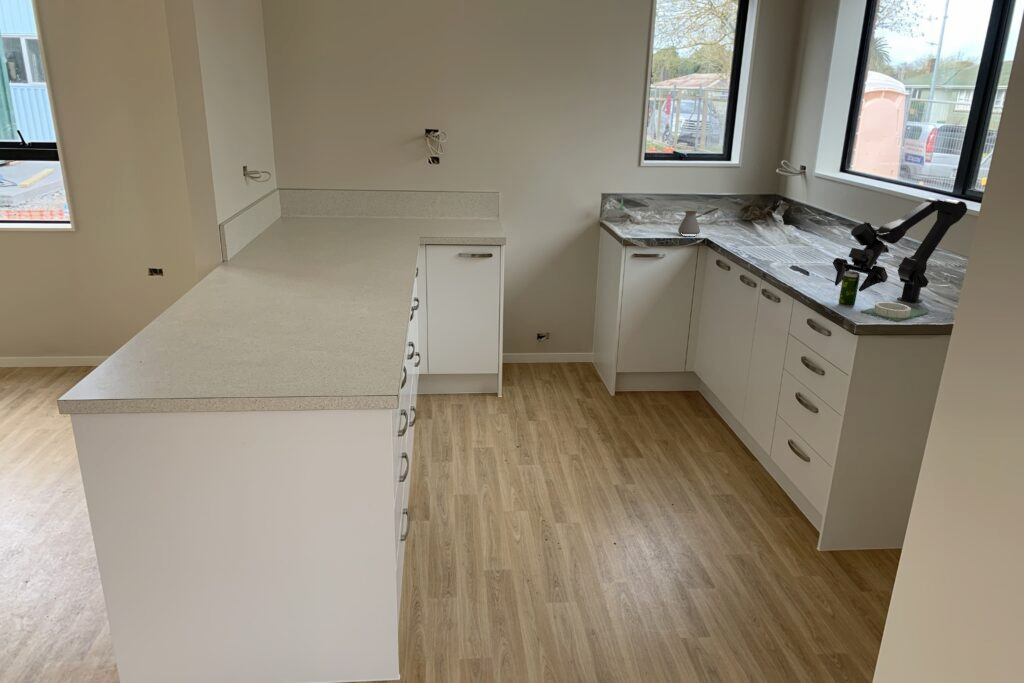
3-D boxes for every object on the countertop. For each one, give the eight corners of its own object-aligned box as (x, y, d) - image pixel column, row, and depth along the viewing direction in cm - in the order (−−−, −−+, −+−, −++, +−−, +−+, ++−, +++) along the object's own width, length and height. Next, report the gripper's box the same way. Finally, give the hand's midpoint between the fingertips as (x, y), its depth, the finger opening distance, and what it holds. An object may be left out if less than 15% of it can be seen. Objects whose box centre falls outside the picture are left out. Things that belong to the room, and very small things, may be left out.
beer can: (849, 303, 264) (855, 271, 260) (857, 307, 259) (863, 274, 255) (835, 303, 263) (840, 270, 260) (843, 307, 258) (849, 274, 254)
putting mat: (892, 304, 264) (892, 303, 263) (928, 313, 253) (928, 312, 253) (860, 312, 253) (861, 310, 253) (897, 321, 243) (897, 320, 242)
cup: (884, 307, 258) (886, 300, 257) (915, 314, 250) (917, 307, 249) (867, 311, 252) (868, 304, 251) (898, 319, 244) (899, 312, 243)
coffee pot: (682, 237, 381) (685, 209, 376) (674, 233, 392) (677, 205, 387) (720, 237, 384) (724, 209, 380) (711, 233, 395) (715, 206, 390)
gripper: (840, 235, 263) (816, 268, 261) (889, 244, 249) (865, 279, 246) (848, 255, 270) (826, 287, 267) (897, 264, 255) (874, 299, 253)
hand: (847, 287), depth 258 cm, fingers open, 9 cm apart
